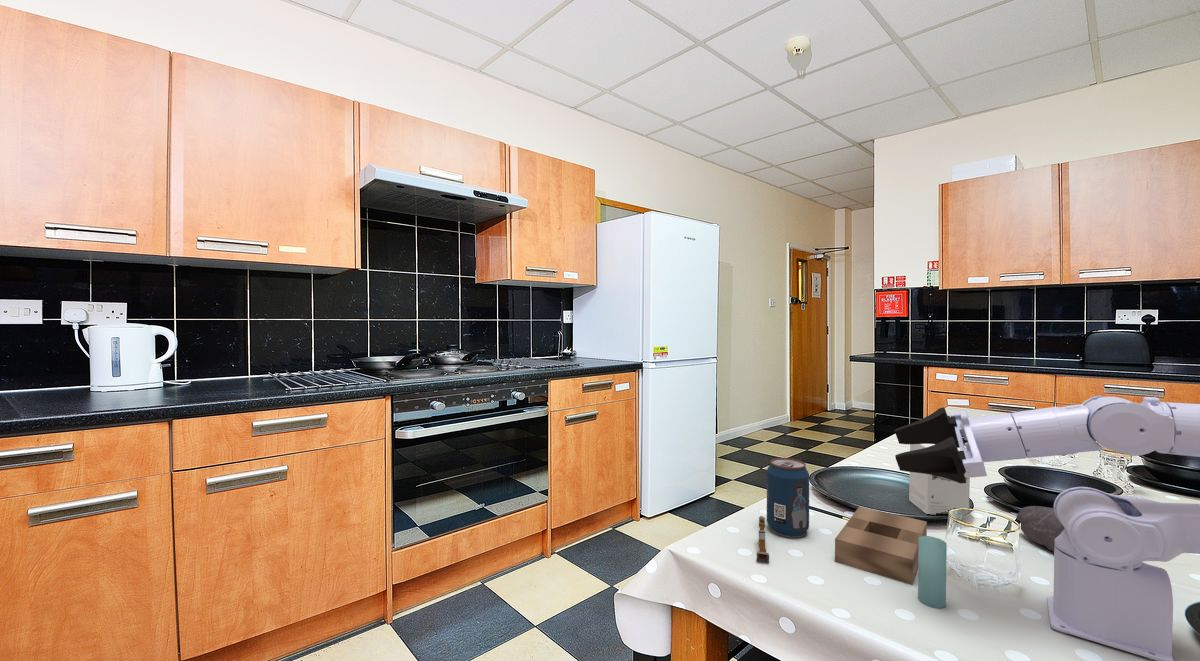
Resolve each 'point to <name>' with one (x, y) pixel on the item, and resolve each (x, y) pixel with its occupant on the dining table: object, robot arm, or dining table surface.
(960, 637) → the dining table surface
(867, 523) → the hole block
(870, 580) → the dining table surface
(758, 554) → the brown long banded part
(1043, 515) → the perforated stone tool
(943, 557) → the peg
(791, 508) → the soda can
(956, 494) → the supplement box
